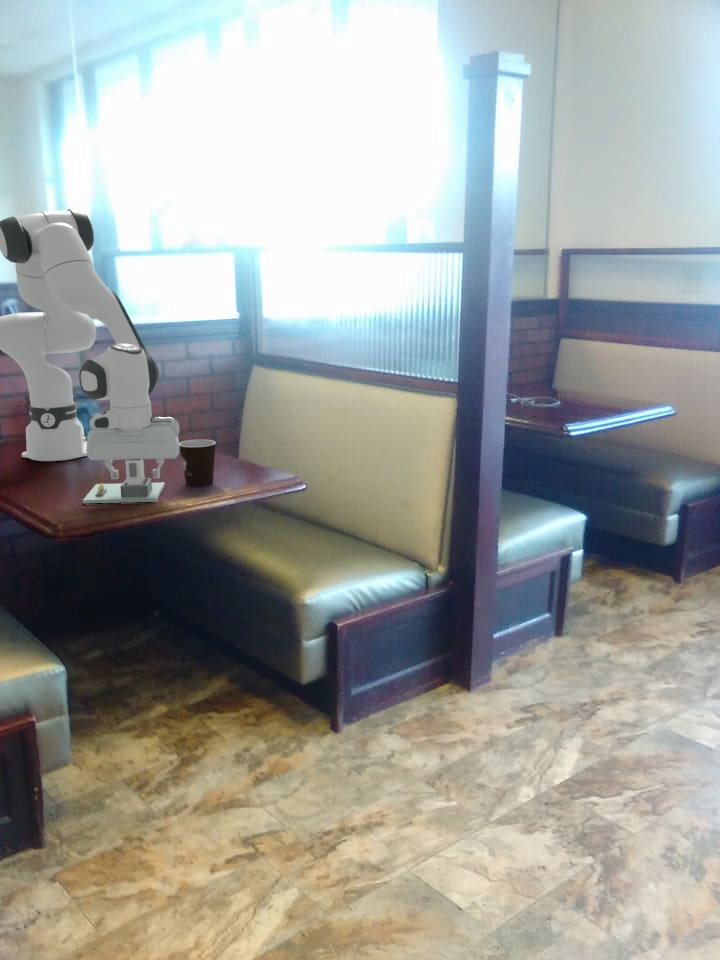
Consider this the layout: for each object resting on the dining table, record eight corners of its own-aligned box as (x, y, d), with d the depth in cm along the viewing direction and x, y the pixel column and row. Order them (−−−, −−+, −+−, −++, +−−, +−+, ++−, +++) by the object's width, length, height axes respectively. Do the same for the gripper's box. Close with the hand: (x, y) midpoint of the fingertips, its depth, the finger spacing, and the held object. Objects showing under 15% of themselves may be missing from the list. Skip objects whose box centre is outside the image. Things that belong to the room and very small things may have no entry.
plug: (131, 490, 200) (128, 456, 198) (145, 490, 200) (143, 456, 198) (127, 496, 195) (124, 461, 193) (141, 496, 196) (139, 461, 194)
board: (96, 488, 206) (95, 473, 206) (164, 486, 208) (164, 472, 207) (83, 504, 193) (81, 489, 192) (156, 502, 194) (155, 487, 193)
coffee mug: (216, 488, 206) (214, 446, 203) (179, 489, 205) (176, 447, 203) (219, 476, 217) (217, 436, 215) (184, 476, 216) (182, 437, 214)
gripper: (180, 414, 198) (183, 473, 201) (88, 416, 196) (93, 475, 200) (177, 419, 192) (180, 480, 195) (82, 421, 190) (87, 482, 194)
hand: (135, 477), depth 197 cm, fingers open, 8 cm apart
